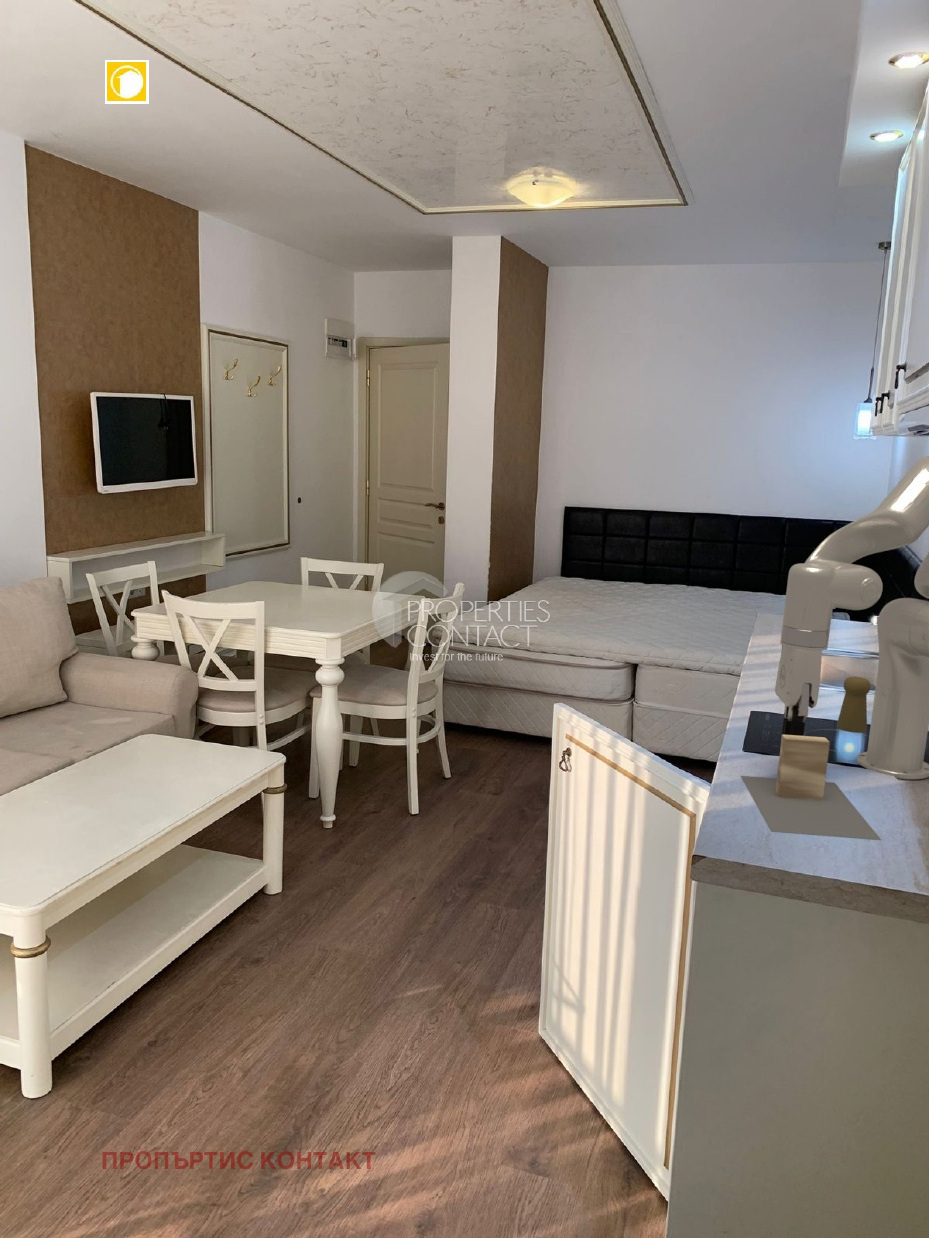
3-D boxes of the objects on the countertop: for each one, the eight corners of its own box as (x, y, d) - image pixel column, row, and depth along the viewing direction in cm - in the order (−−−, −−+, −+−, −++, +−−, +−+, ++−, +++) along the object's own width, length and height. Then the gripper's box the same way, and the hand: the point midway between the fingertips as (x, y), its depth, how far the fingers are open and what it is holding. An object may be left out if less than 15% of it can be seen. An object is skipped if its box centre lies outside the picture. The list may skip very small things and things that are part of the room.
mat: (740, 778, 164) (740, 775, 163) (834, 785, 162) (834, 782, 162) (770, 835, 140) (771, 831, 140) (881, 843, 139) (881, 839, 139)
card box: (775, 791, 157) (781, 733, 155) (818, 794, 156) (825, 736, 154) (779, 797, 154) (785, 739, 152) (822, 800, 153) (829, 742, 151)
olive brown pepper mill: (859, 724, 200) (865, 674, 198) (872, 733, 194) (879, 681, 192) (831, 723, 200) (837, 673, 198) (843, 732, 194) (850, 680, 192)
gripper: (771, 627, 165) (759, 727, 168) (792, 645, 150) (779, 754, 153) (815, 630, 164) (802, 731, 167) (840, 648, 149) (826, 758, 153)
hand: (791, 742), depth 160 cm, fingers closed
